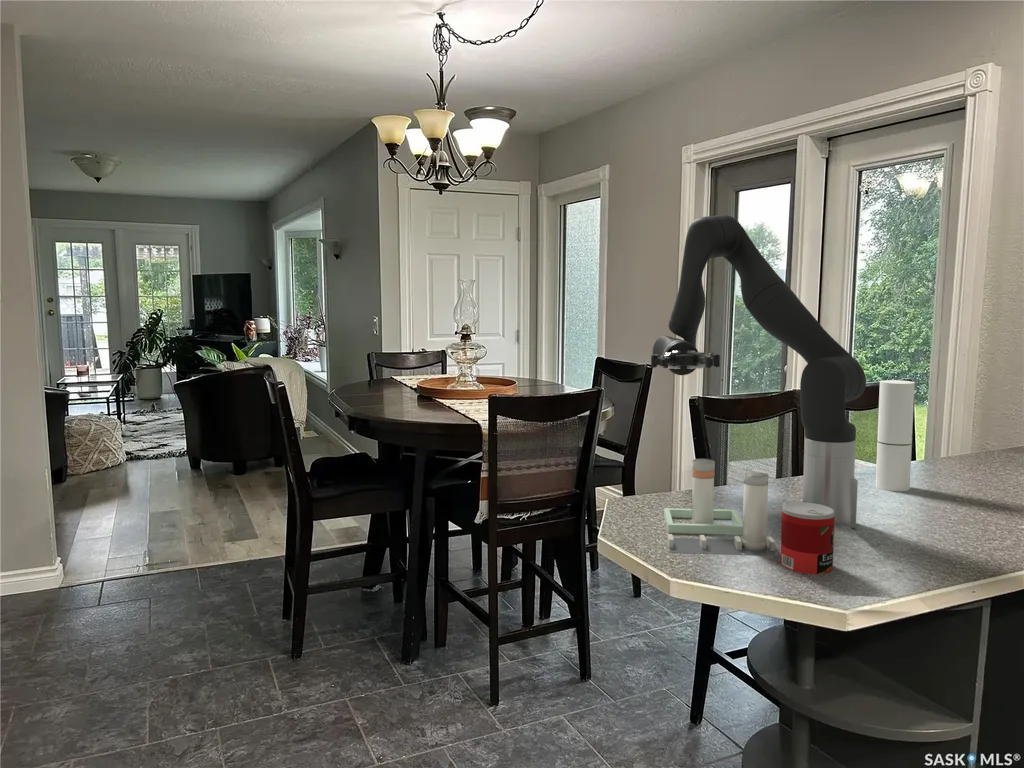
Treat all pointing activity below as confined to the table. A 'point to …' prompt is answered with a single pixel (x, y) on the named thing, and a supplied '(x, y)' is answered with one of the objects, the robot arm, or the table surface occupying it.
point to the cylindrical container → (894, 435)
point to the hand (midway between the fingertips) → (687, 362)
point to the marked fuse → (703, 491)
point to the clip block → (716, 546)
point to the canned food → (807, 537)
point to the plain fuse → (755, 511)
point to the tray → (703, 528)
